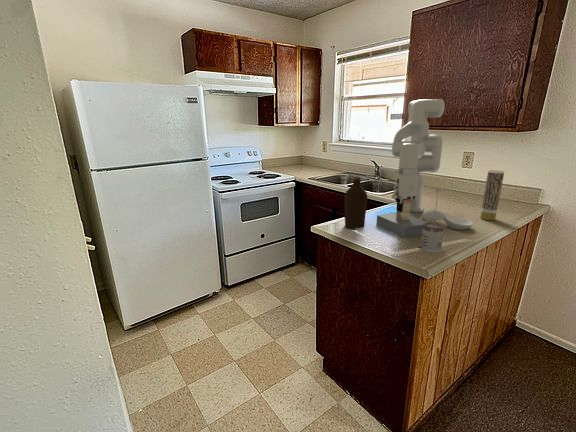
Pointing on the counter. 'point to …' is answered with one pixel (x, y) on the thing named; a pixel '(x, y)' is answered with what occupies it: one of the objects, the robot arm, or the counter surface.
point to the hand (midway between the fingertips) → (403, 210)
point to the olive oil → (355, 205)
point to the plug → (404, 210)
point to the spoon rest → (453, 221)
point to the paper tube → (492, 194)
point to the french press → (431, 238)
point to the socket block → (401, 225)
